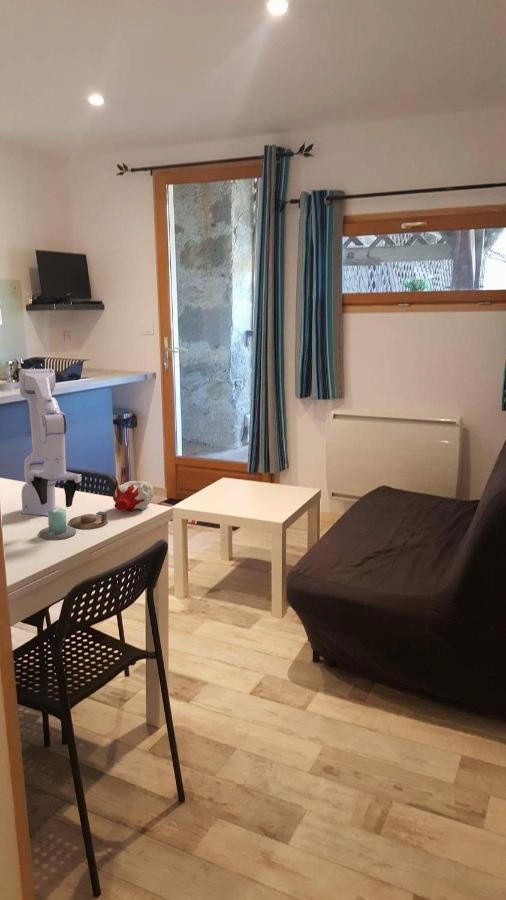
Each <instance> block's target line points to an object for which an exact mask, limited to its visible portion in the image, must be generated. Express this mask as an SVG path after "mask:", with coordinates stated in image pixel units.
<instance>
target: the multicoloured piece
mask: <svg viewBox="0 0 506 900" xmlns="http://www.w3.org/2000/svg"><path fill="white" fill-rule="evenodd" d="M154 490H155V489H154V486H153V485H152V484H150V483H149V482H147V481H144V480H143V481H138V480H130V481H127V482H124V483H122V484H120V485H117V486H116V489H115V491H114V494H113V496H112V499H113V501H114V506H113V507H115V509H116V510H117V511H127V512H134V511H137V510H138V509H140V510H141V511H143V510H145V508H146V507H147V506H149V505H150V503H151V501H152V499H153V498H154V495H155V493H154Z"/></svg>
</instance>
